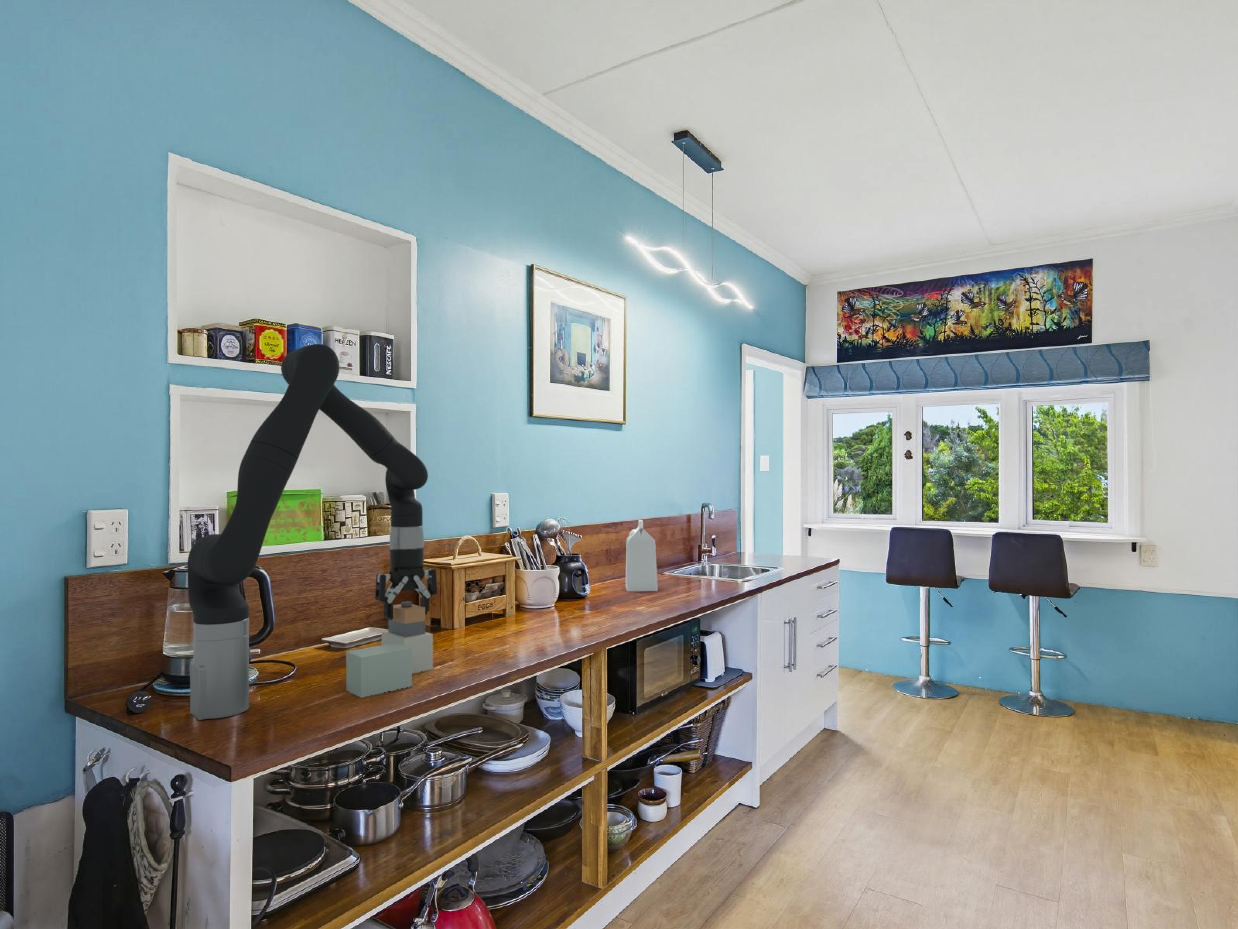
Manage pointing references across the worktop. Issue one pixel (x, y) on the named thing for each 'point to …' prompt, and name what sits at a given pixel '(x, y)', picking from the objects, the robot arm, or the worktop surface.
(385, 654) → the stand
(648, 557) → the milk
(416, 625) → the bottom plate
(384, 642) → the stand
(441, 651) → the worktop surface
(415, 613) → the top plate
